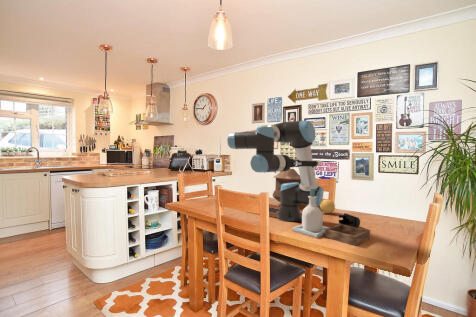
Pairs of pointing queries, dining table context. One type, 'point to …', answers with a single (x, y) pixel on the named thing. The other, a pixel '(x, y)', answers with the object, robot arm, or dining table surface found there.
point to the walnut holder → (336, 234)
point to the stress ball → (327, 206)
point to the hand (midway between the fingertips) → (307, 162)
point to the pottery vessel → (285, 181)
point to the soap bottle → (312, 215)
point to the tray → (313, 234)
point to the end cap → (349, 220)
